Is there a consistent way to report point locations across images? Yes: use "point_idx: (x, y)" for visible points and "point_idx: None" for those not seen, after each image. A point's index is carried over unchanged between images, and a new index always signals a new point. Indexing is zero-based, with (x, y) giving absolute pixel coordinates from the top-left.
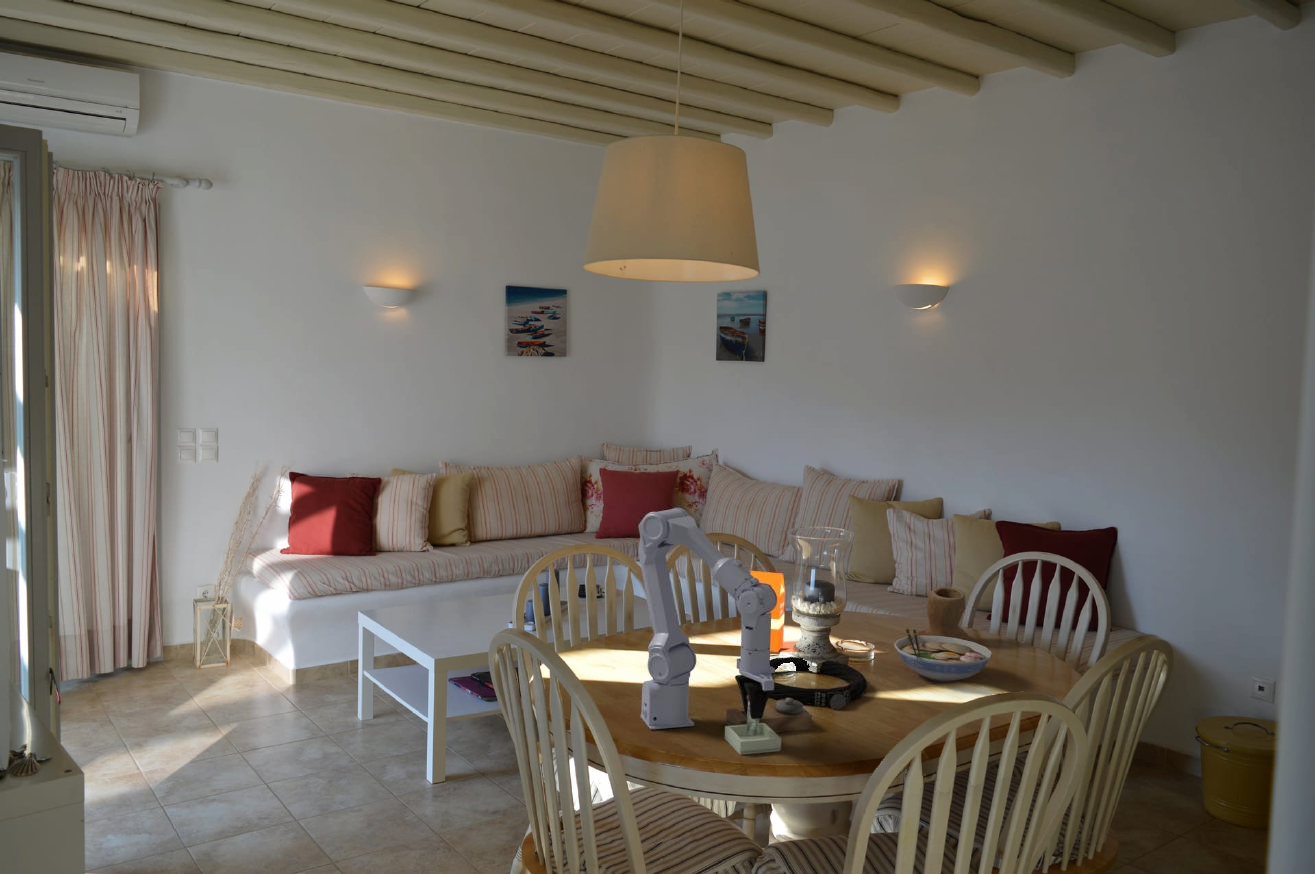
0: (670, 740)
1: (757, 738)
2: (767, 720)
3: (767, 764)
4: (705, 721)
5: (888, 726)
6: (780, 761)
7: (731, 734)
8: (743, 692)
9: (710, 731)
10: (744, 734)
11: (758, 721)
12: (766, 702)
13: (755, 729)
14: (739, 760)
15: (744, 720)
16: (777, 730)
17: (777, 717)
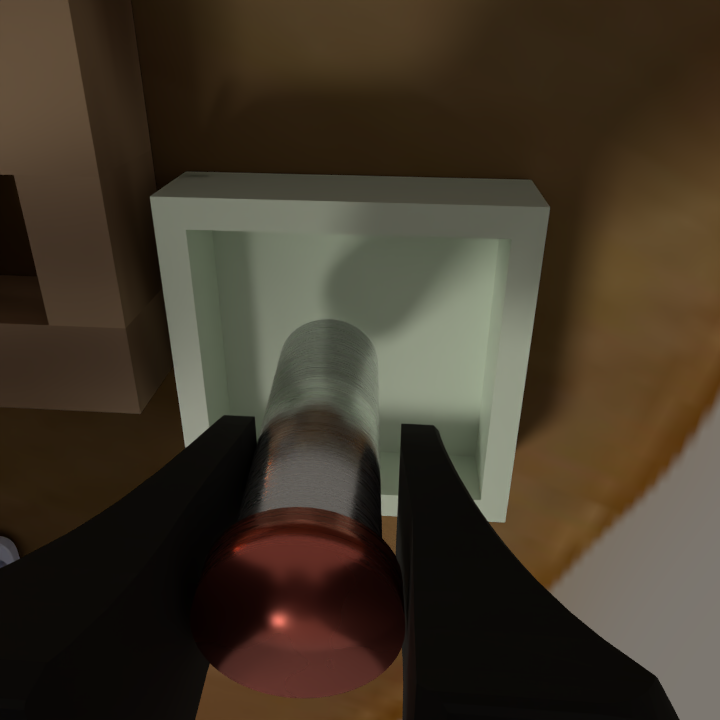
0: (206, 679)
1: (302, 283)
2: (103, 148)
3: (711, 374)
4: None
5: None
6: (710, 269)
7: None
8: (195, 707)
9: (91, 481)
10: (221, 348)
11: (364, 395)
12: (487, 524)
13: (378, 387)
14: (574, 497)
15: (131, 370)
16: (128, 22)
17: (63, 25)
